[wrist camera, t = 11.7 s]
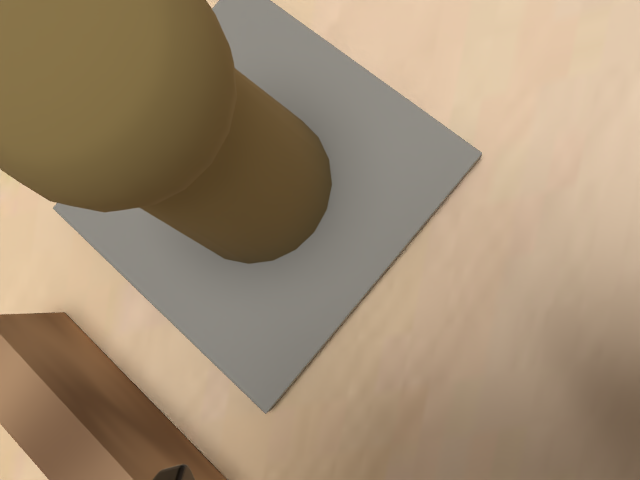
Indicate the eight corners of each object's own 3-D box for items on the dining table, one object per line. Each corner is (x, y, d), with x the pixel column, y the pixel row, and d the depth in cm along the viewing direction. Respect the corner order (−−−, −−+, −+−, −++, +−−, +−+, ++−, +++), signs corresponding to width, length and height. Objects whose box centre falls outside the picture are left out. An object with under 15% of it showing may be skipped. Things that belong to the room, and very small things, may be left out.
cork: (263, 297, 19) (53, 292, 8) (150, 200, 20) (-161, 87, 9) (365, 166, 19) (288, -17, 8) (243, 77, 20) (35, -181, 9)
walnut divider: (238, 491, 19) (191, 541, 15) (204, 532, 19) (147, 593, 15) (64, 312, 21) (-18, 315, 17) (34, 349, 21) (-54, 361, 17)
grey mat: (480, 157, 18) (482, 153, 18) (270, 410, 19) (265, 413, 18) (242, -14, 21) (237, -24, 20) (62, 210, 21) (52, 208, 21)
